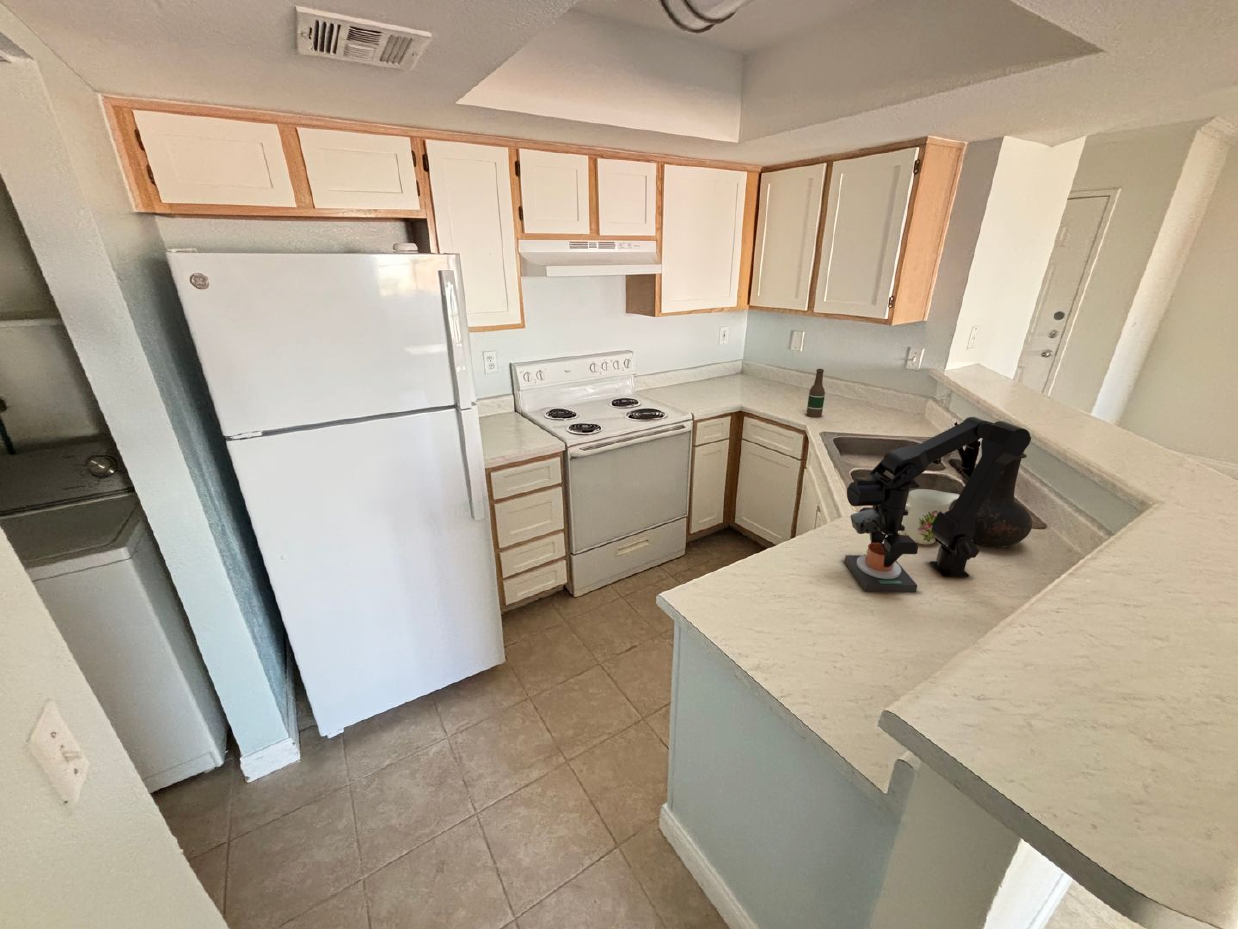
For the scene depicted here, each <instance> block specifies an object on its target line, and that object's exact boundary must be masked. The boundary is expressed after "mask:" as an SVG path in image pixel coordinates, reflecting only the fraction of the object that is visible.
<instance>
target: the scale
mask: <svg viewBox="0 0 1238 929" xmlns="http://www.w3.org/2000/svg"><path fill="white" fill-rule="evenodd" d="M865 557H866V554H861V555H860V554H859V555H856V554H855V555H854V554H852V555H851V554H845V556H844V563H845V565H846V566H847V568H848V569H849V571H850V572H851V574H852V575H853V577H854V578H855V579H856V581H857V582H858V584H859V585H860V587H861V588H862V590H863V591H864V592H880V593H881V592H882V593H883V592H884V593H885V592H886V593H888V592H892V593H893V592H894V593H916V592H917V588H918V584H917V583H916V581H914V579H913V578H912V577H911V576H910V575H909V574H908V572H907V571H906V570H905V569H904V568H903V566H902V565H901V564H900V563H899V562H898V561H897V560H896V561H895V563H894V567H893V568H892V569H891V570H889V571H878V570H875V569H873V568H871V567H869V566H868V565H867V564H866V562H865Z"/></svg>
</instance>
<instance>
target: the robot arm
mask: <svg viewBox="0 0 1238 929" xmlns="http://www.w3.org/2000/svg"><path fill="white" fill-rule="evenodd" d="M979 439H981V441H980V449H981V456H980V458H979V460H978V462H977V464H976V466H975V467H974V469H973V470H972V472H971V475H970V477H969V478H968V479H967V481H966V484H964V487H963V489H962V491H961V492H960V494H959V495H960V496H959V497H958V499H957V500H955V503H954V505H953V506H952V507H951V509H949V511H947V512H945V513H943V512H939V513H938V514H937V516H936V519H935V520H934V522H933V523H932V524H931V525H932V529H931V532H932V534H933V536H934V538H935V543H938V544H939V548H938V552H937V556H936V558H935V560H930V561H929V564H930V565H931V566H932V568H934V569H935V570H936V571H937V572H938V574H939V575H940V576H941V577H944V578H969V577H970V574H969V573H968V572H967V571H966V570H965V569H966V566H967V563H968V561H969V560H971V559H975V558H976V557H977V556H978V555H979V553H980V551H981V550H980V549H979V547H977V545H975V542H974V541H972V538H973V536H974V533H975V520H974V519H975V516H976V515H977V513H978V511H979V510H980V508H981V506H982V504H983V503H984V501H985V499H986V498H987V496H988V494H989V492H990V491H991V489H992V487H993V486H994V484H995V482H996V481H997V479H998V477H999V475H1000V474H1001V472H1002V470H1003V469H1004V467H1005V465H1006V464H1008V463H1010V462H1011V461H1013V460H1015V459H1017V458H1018V457H1020V455H1021V454H1022V453H1023V452H1024V453H1025V451H1026V450H1027V448H1028V446H1029V445H1030V443H1031V441H1032V436H1031V433H1030V432H1029V431H1028V429H1026V428H1025V427H1024V428H1023V427H1021V426H1018V425H1016V424H1013V423H1009V422H1007V421H1004V420H997V421H995V422H992V421H988V420H985V419H982V418H979V417H976V416H969V417H967V418H965V419H964V420H963V421H962V422H960V423H958V424H956V425H954V426H952V427H950V428H948V429H946V430H944V431H942V432H940V433H938V434H936V435H933V436H932V437H930V438H928V439H926V440H925V441H922V442H920V443H918V444H915V445H907V446H902V447H901V446H900V447H898V448H895V449H891V450H890V451H888V452H886V453H885V454H884V455H883V459H881V461H879V463H878V464H877V465H876V466H875V467H874V468H873V469H872V470H871V471H870V472H869V476H870V477H859V476H858V477H857V476H856V477H854V478H853V481H852V482H850V483H849V484H848V486H847V488H846V498H847V501H848V503H849V505H850V506H852V507H862V508H861V509H860V510H859V511H858V512H854V513H852V514H850V516H849V517H850V521H851V525H852V528H853V529H854V530H855V531H856V533H857V534H858V535H864V534H866V535H867V534H868V535H869V540H870V543H880V544H881V546H882V547H883V548H884V549H885V555H884V567H890V566H891V565H892V564H893V563H894V562H895V561H897V560H898V559H900V557H901V556H903V555H917V554H918V551H919V547H920V546H919V544H918V543H916V542H914V541H913V540H912V539H911V537H910V536H909V535H906V534H900V533H899V532H902V531H904V530H905V527H904V526H903V522H902V520H903V516H908V511H907V510H906V509H905V507H906V504H907V503H908V502H907V501H908V499H909V492H910V489H920V484H919V483H918V482H917V481H916V480H915V479H916V478H917V477H919V476H920V475H921V474H924V473H925V471H926V470H927V468H928V467H929V466H930V465H931V464H932V463H934V462H935V461H937V460H939V459H941V458H943V457H945V456H947V455H949V454H952V453H954V452H955V451H957V450H960V449H961V448H963V447H965V446H967V445H970V444H971V443H973V442H976V441H978V440H979ZM1024 450H1025V451H1024ZM885 473H887V474H888V475H890V476H891V477H892V478H891V477H890V476H888V475H886V474H885ZM868 506H869V507H868ZM871 506H872V507H871Z"/></svg>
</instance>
